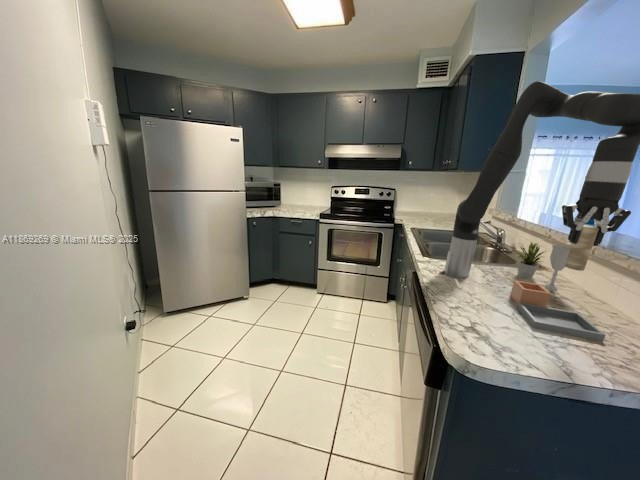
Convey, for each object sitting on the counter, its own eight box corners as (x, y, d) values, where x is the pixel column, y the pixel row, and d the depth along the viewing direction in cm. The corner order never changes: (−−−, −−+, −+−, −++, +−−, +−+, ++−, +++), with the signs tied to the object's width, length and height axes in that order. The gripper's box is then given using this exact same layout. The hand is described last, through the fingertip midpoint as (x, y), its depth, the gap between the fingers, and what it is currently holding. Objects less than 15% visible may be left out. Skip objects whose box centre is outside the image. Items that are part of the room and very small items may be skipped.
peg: (569, 269, 71) (584, 227, 68) (561, 264, 75) (575, 224, 72) (587, 271, 70) (603, 229, 67) (578, 266, 74) (592, 226, 71)
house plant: (501, 266, 127) (510, 235, 122) (536, 273, 121) (546, 239, 116) (507, 276, 114) (517, 241, 110) (546, 284, 108) (558, 247, 104)
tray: (532, 330, 74) (535, 321, 73) (516, 310, 85) (518, 302, 85) (601, 344, 70) (605, 335, 69) (575, 321, 81) (578, 312, 80)
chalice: (566, 295, 98) (581, 251, 94) (546, 293, 100) (560, 249, 95) (553, 287, 105) (567, 245, 101) (534, 285, 107) (547, 244, 102)
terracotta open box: (517, 307, 87) (523, 289, 85) (509, 297, 94) (514, 280, 92) (544, 312, 85) (550, 293, 83) (533, 302, 92) (539, 284, 90)
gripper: (580, 179, 65) (559, 244, 69) (654, 183, 60) (626, 251, 65) (563, 178, 71) (545, 237, 76) (629, 182, 67) (605, 244, 72)
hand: (583, 243), depth 71 cm, fingers closed on peg, 4 cm apart
